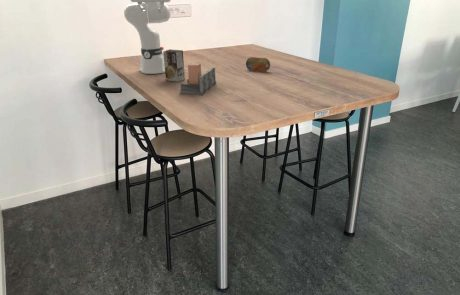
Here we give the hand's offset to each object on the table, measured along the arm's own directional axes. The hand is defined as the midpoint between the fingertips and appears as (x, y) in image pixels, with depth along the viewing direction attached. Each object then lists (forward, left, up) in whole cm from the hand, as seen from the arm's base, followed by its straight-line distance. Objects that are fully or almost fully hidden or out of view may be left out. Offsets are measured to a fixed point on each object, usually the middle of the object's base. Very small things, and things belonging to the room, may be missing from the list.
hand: (151, 12), depth 181 cm
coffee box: (-15, +3, -37) cm, 40 cm away
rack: (-2, +22, -37) cm, 43 cm away
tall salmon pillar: (+3, +22, -36) cm, 42 cm away
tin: (-45, +44, -37) cm, 73 cm away
